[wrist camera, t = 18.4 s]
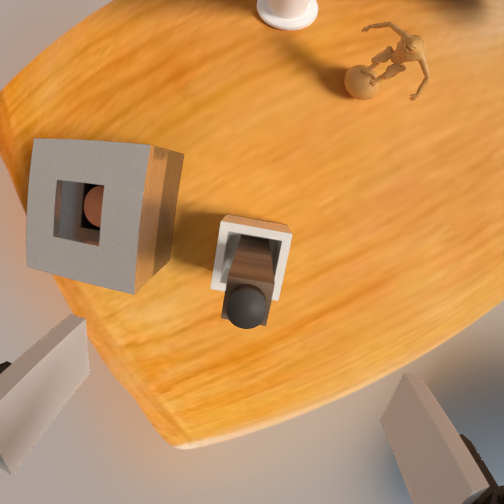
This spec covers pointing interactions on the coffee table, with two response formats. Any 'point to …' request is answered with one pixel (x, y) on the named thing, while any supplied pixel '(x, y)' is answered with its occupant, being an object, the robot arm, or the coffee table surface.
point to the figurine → (367, 80)
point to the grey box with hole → (113, 211)
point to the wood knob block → (249, 284)
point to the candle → (287, 13)
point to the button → (94, 205)
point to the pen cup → (251, 227)
